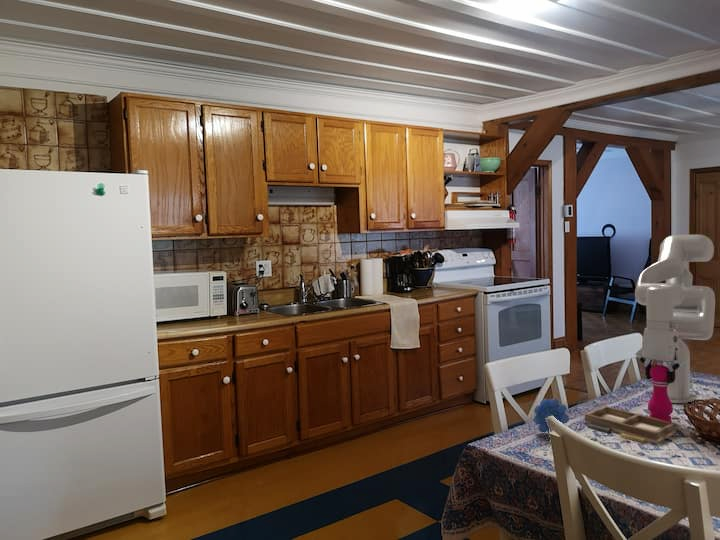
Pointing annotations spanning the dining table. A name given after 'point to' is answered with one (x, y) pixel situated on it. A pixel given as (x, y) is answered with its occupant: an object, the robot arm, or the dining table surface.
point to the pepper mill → (660, 393)
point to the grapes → (549, 413)
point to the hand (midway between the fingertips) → (660, 380)
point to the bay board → (630, 425)
